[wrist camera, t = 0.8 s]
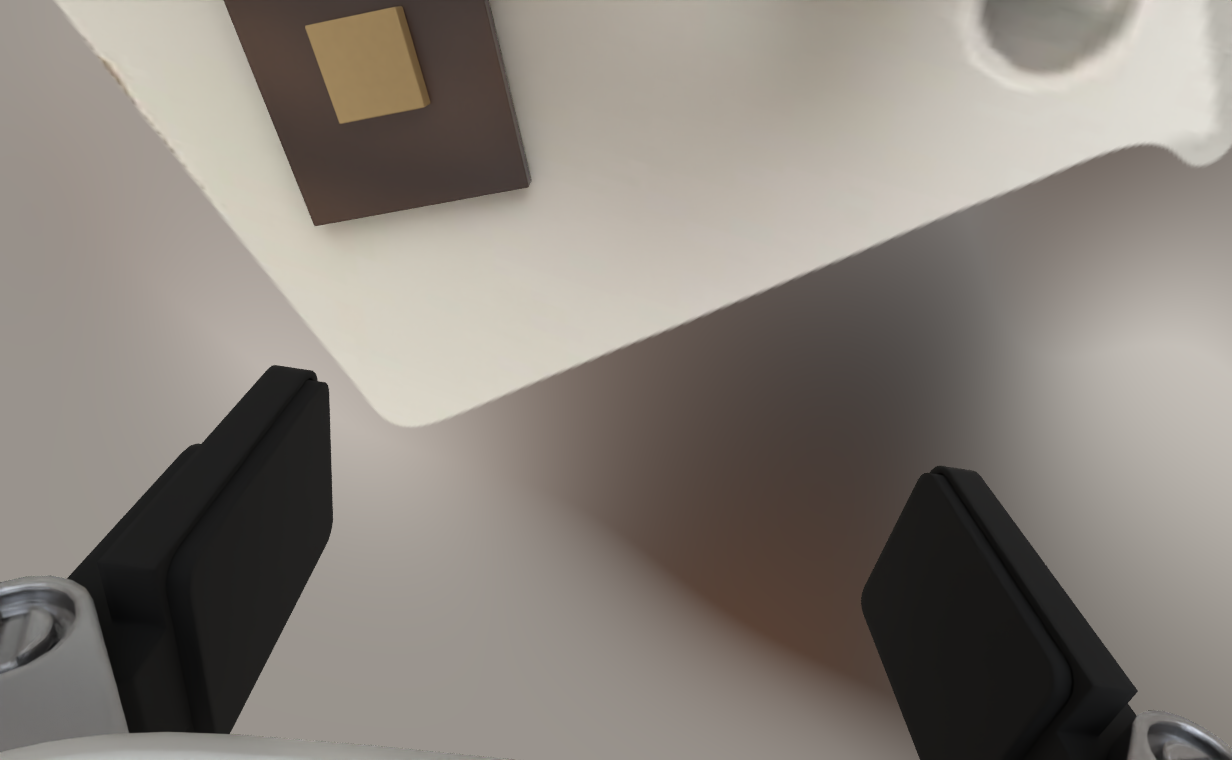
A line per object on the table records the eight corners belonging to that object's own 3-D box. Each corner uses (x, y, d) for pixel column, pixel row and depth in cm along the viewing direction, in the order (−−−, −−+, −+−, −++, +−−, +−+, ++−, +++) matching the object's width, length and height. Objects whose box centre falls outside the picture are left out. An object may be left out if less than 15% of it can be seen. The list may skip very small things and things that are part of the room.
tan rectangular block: (314, 24, 30) (303, 25, 29) (402, 5, 30) (394, 6, 29) (348, 119, 32) (338, 124, 31) (431, 103, 32) (424, 107, 31)
